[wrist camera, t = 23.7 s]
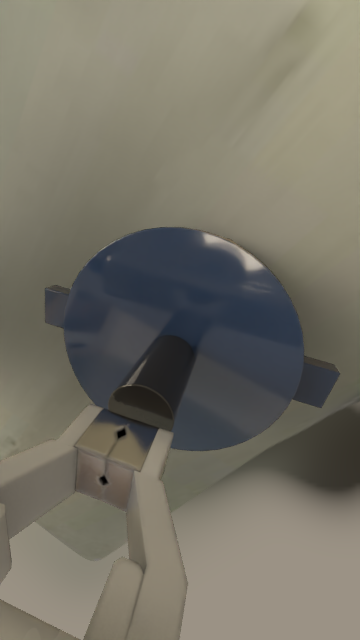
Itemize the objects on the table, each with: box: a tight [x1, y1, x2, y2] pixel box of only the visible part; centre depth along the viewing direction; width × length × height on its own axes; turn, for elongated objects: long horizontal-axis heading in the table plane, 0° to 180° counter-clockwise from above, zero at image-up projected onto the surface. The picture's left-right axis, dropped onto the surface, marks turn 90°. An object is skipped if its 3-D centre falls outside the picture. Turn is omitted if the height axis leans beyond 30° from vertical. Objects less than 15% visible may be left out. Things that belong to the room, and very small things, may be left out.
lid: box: [64, 227, 304, 451], centre depth 12 cm, size 13×13×6 cm
